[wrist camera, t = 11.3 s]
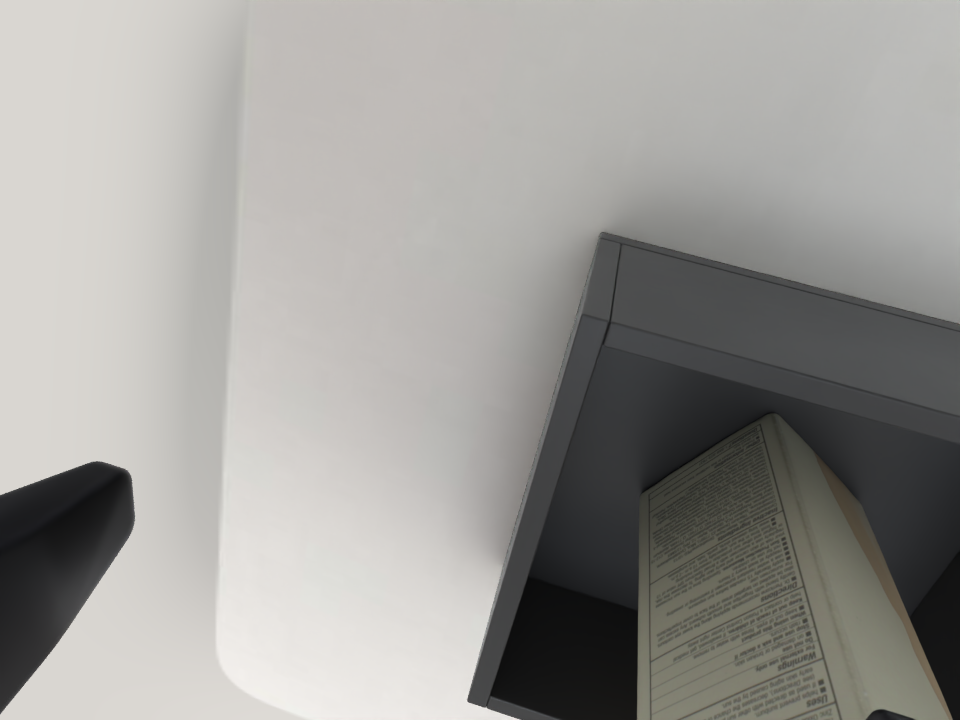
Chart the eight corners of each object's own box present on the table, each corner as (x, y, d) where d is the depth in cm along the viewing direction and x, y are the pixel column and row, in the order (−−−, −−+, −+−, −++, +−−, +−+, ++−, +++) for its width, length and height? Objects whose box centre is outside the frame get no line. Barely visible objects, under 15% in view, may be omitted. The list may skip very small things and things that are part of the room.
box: (722, 576, 23) (767, 1000, 13) (634, 490, 22) (615, 876, 12) (873, 500, 20) (1064, 955, 11) (780, 400, 20) (897, 797, 10)
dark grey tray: (502, 567, 26) (466, 702, 21) (601, 230, 19) (581, 313, 14) (866, 681, 24) (918, 853, 20) (1108, 362, 18) (1276, 503, 13)
